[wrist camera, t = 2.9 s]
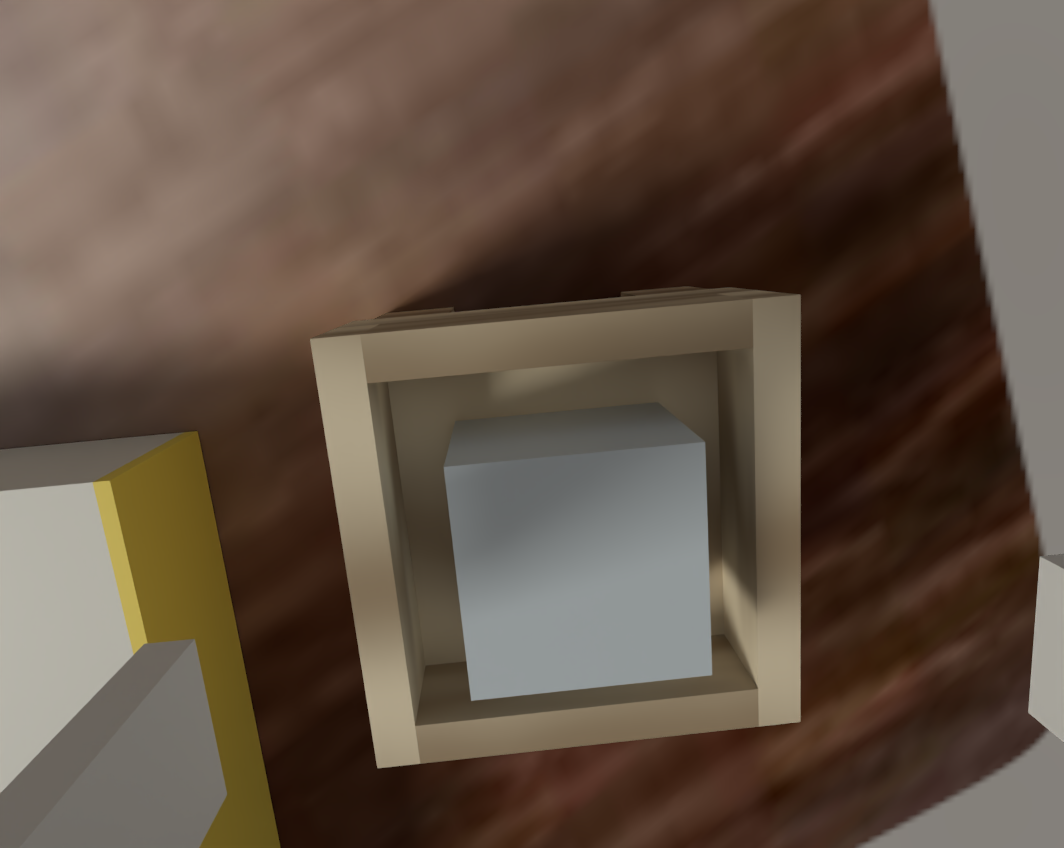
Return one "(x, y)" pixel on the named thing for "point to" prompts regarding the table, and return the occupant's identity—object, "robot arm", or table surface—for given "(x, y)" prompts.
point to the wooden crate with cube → (550, 386)
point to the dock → (119, 601)
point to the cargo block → (580, 549)
